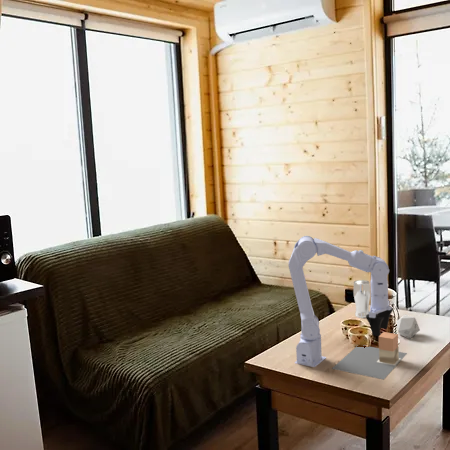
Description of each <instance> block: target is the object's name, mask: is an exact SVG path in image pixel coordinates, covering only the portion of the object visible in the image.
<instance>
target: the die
mask: <svg viewBox="0 0 450 450" xmlns="http://www.w3.org/2000/svg"><path fill="white" fill-rule="evenodd" d="M395 322H396V323H397V326H396V325H395V326H396V329H397V331H398V335H400V336H402V337H404V338H408V339H411V338H412V337H414V336H415V335H416V334H417V333H418V332H420V331H421V329H420V327H419V323H418V321H417V319H416V317H415V316H412V315H408V314H403V315H402V316H401V317H400V318H398V319H396V321H395Z"/></svg>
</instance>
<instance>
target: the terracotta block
mask: <svg viewBox="0 0 450 450" xmlns="http://www.w3.org/2000/svg"><path fill="white" fill-rule="evenodd" d="M397 347H399V333H392V332H385V331H384V332H382V333H380V334H379V336H378V348H379V349H381V350H387V351H392V352H393V351H394V350H395V349H396V348H397Z"/></svg>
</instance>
